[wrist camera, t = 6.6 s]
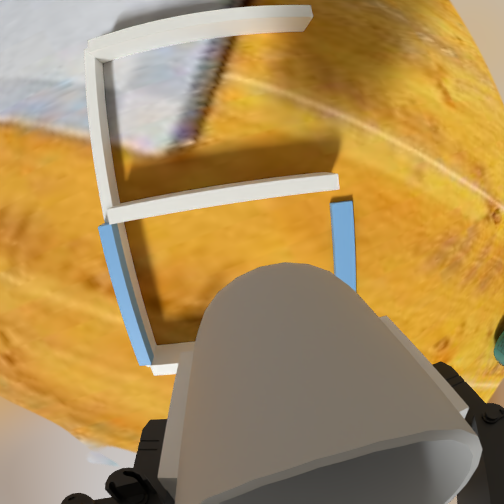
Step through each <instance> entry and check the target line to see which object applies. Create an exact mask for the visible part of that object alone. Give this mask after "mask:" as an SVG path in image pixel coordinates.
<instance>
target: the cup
mask: <svg viewBox="0 0 504 504" xmlns="http://www.w3.org/2000/svg"><path fill="white" fill-rule="evenodd" d="M481 453H482V446H481V444H480V441H479V438H478V436H477V434H476V433H475V432H474V431H473V429H472V428H471V427H470V425H469V424H468V423H467V422H466V420H465V419H464V418H463V417H462V415H461V414H460V413H459V412H458V410H457V409H456V408H455V407H454V405H453V404H452V403H451V402H450V400H449V399H448V398H447V397H446V395H445V394H444V393H443V392H442V391H441V389H440V388H439V387H438V386H437V384H436V383H435V382H434V381H433V380H432V378H431V377H430V376H429V375H428V374H427V373H426V371H425V370H424V369H423V368H422V367H421V365H420V364H419V363H418V362H417V361H416V360H415V358H414V357H413V356H412V355H411V354H410V353H409V351H408V350H407V349H406V348H405V347H404V346H403V344H402V343H401V342H400V341H399V340H398V339H397V338H396V336H395V335H394V334H393V333H392V332H391V331H390V330H389V328H388V327H387V326H386V325H385V324H384V323H383V322H382V321H381V319H380V318H379V317H378V316H377V315H376V314H375V313H374V312H373V310H372V309H371V308H370V307H369V306H368V305H367V304H366V303H365V302H364V301H363V299H362V298H361V297H360V296H359V295H358V294H357V293H356V292H355V291H354V290H353V289H352V288H351V287H350V286H349V285H347V284H346V283H345V282H343V281H342V280H341V279H339V278H338V277H337V276H335V275H334V274H332V273H331V272H330V271H327V270H324V269H321V268H318V267H315V266H312V265H310V264H300V263H279V264H273V265H268V266H262V267H259V268H256V269H254V270H252V271H250V272H248V273H246V274H243V275H241V276H239V277H237V278H236V279H234V280H233V281H232V282H231V283H229V284H228V285H227V286H226V287H224V288H223V289H222V290H221V291H219V292H218V293H217V295H216V296H215V298H214V299H213V300H212V302H211V303H210V304H209V306H208V307H207V309H206V310H205V312H204V315H203V318H202V321H201V324H200V327H199V330H198V333H197V336H196V341H195V347H194V354H193V360H192V367H191V374H190V381H189V388H188V395H187V402H186V410H185V417H184V425H183V433H182V441H181V450H180V458H179V467H178V477H177V486H176V496H175V504H448V503H449V502H450V501H451V500H452V499H453V498H454V497H455V496H456V495H457V494H458V493H459V492H460V491H461V490H462V489H463V487H464V486H465V485H466V484H467V483H468V481H469V480H470V478H471V476H472V475H473V473H474V472H475V470H476V468H477V467H478V464H479V461H480V457H481Z"/></svg>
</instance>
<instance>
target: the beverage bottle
mask: <svg viewBox="0 0 504 504" xmlns="http://www.w3.org/2000/svg"><path fill="white" fill-rule="evenodd" d="M494 356H495V358H496V360H497V361H499V362H500V363H501V364H502V366H504V331H503V332H502V334H501V335H500V337H499V338H498V340H497V342H496V345H495V348H494ZM499 362H498V363H499ZM501 364H500V365H501Z"/></svg>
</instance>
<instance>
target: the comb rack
mask: <svg viewBox="0 0 504 504" xmlns="http://www.w3.org/2000/svg"><path fill="white" fill-rule="evenodd" d="M312 18H313V13H312V9H311V5H269V6H251V7H239V8H228V9H220V10H212V11H205V12H198V13H192V14H186V15H181V16H176V17H171V18H166V19H161V20H157V21H152V22H148V23H144V24H140V25H136V26H133V27H129V28H125V29H122V30H119V31H115V32H112V33H109V34H106V35H103V36H100V37H97V38H94V39H91V40H88V48H87V49H84V66H85V85H86V98H87V110H88V120H89V129H90V138H91V145H92V153H93V160H94V166H95V172H96V178H97V184H98V190H99V195H100V201H101V206H102V211H103V216H104V220H105V223H104V224H102V225H100V226H99V227H98V229H99V234H100V238H101V242H102V247H103V251H104V255H105V259H106V262H107V266H108V270H109V274H110V277H111V281H112V284H113V288H114V291H115V295H116V298H117V301H118V305H119V308H120V311H121V314H122V317H123V320H124V323H125V326H126V329H127V332H128V335H129V338H130V341H131V344H132V347H133V349H134V352H135V355H136V357H137V360H138V363H139V365H140V366H143V365H147V367H151V369H152V372H153V374H154V375H168V374H176V373H177V368H178V363H179V358H180V353H181V352H189V351H194V347H195V341H193V342H184V343H175V344H166V345H156V342H155V338H154V335H153V332H152V329H151V326H150V322H149V319H148V316H147V312H146V309H145V305H144V302H143V298H142V294H141V291H140V287H139V283H138V280H137V276H136V272H135V268H134V264H133V260H132V256H131V251H130V247H129V243H128V238H127V234H126V229H125V224H124V222H126V221H131V220H136V219H142V218H147V217H152V216H158V215H164V214H169V213H175V212H181V211H187V210H193V209H199V208H205V207H211V206H218V205H224V204H231V203H237V202H244V201H251V200H258V199H265V198H273V197H280V196H288V195H296V194H304V193H312V192H320V191H329V190H338V189H339V179H338V174H335V173H329V172H318V173H309V174H300V175H291V176H283V177H274V178H267V179H259V180H252V181H245V182H238V183H231V184H224V185H218V186H211V187H205V188H199V189H193V190H187V191H182V192H176V193H170V194H165V195H160V196H154V197H149V198H144V199H139V200H134V201H129V202H124V203H120V199H119V194H118V188H117V183H116V177H115V171H114V164H113V158H112V151H111V144H110V136H109V128H108V120H107V111H106V100H105V89H104V76H103V63H105V62H108V61H112V60H115V59H119V58H122V57H126V56H129V55H133V54H137V53H141V52H145V51H149V50H153V49H157V48H162V47H167V46H171V45H176V44H182V43H187V42H193V41H199V40H205V39H212V38H219V37H227V36H236V35H246V34H259V33H275V32H304V30H305V29H306V27H307V26H308V24H309V23H310V21H311V20H312ZM330 212H331V225H332V240H333V257H334V275H335V276H337V277H338V278H339V279H341V280H342V281H343V282H345V283H346V284H347V285H349V286H350V287H351V288H352V289H353V290H354V291H355V292H356V265H355V237H354V218H353V203H352V201H342V202H334V203H330Z"/></svg>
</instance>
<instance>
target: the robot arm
mask: <svg viewBox="0 0 504 504" xmlns="http://www.w3.org/2000/svg"><path fill="white" fill-rule="evenodd" d="M379 318H380V319H381V321H382V322H383V323H384V324H385V325H386V326H387V327H388V328H389V330H390V331H391V332H392V333H393V334H394V335H395V336H396V338H397V339H398V340H399V341H400V342H401V343H402V344H403V346H404V347H405V348H406V349H407V350H408V351H409V353H410V354H411V355H412V356H413V357H414V358H415V360H416V361H417V362H418V363H419V364H420V365H421V367H422V368H423V369H424V370H425V371H426V373H427V374H428V375H429V376H430V377H431V378H432V380H433V381H434V382H435V383H436V384H437V386H438V387H439V388H440V389H441V391H442V392H443V393H444V394H445V395H446V397H447V398H448V399H449V400H450V402H451V403H452V404H453V405H454V407H455V408H456V409H457V410H458V412H459V413H460V414H461V415H462V417H463V418H464V419H465V420H466V422H467V423H468V424H469V425H470V427H471V428H472V429H473V431H474V432H475V433H476V434H477V436H478V438H479V441H480V444H481V446H482V453H481V457H480V461H479V464H478V467H477V468H476V470H475V472H474V473H473V475H472V476H471V478H470V480H469V481H468V483H467V484H466V485H465V486H464V487H463V489H462V490H461V491H460V492H459V493H458V494H457V504H504V408H503V407H501V406H500V405H497V404H494V403H487V404H486V403H485V402H484V401H483V400H482V399H481V398H480V397H479V396H478V395H477V393H476V392H475V391H474V390H473V389H472V388H471V387H470V386H469V385H468V384H467V383H466V382H464V379H463V378H462V377H461V376H459V374H458V373H457V372H456V371H455V370H454V369H453V368H452V367H451V366H449V365H447V364H445V363H443V362H438V363H436V364H433V365H432V364H431V363H430V362H429V361H428V360H427V359H426V358H425V357H424V355H423V354H422V353H421V352H420V351H419V350H418V349H417V348H416V347H415V346H414V345H413V343H412V342H411V341H410V340H409V339H408V338H407V337H406V336H405V335H404V334H403V333H402V332H401V331H400V329H399V328H398V327H397V326H396V325H395V324H394V323H393V322H392V321H391V320H390V319H389V318H388V317H387V316H383V317H379ZM193 354H194V351H189V352H181V353H180V358H179V363H178V368H177V373H176V378H175V383H174V388H173V393H172V398H171V403H170V408H169V414H168V419H160V420H150V421H149V422H148V423H147V425H146V426H145V427H144V428H143V430H142V434H141V438H140V442H139V446H138V451H137V455H136V459H135V464H134V467H133V468H122V469H120V470H117V471H115V472H113V473H112V474H111V475H110V476H109V477H108V479H107V481H106V484H105V490H106V491H107V492H108V493H109V494H110V495H111V496H112V497H111V498H104V499H98V500H93V499H92V498H91V497H89V496H87V495H86V494H82V493H75V494H71V495H69V496H67V497H66V498H65V499H64V500H63V501H62V503H61V504H175V496H176V486H177V477H178V467H179V458H180V450H181V441H182V433H183V425H184V417H185V410H186V402H187V395H188V388H189V381H190V374H191V367H192V360H193Z"/></svg>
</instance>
